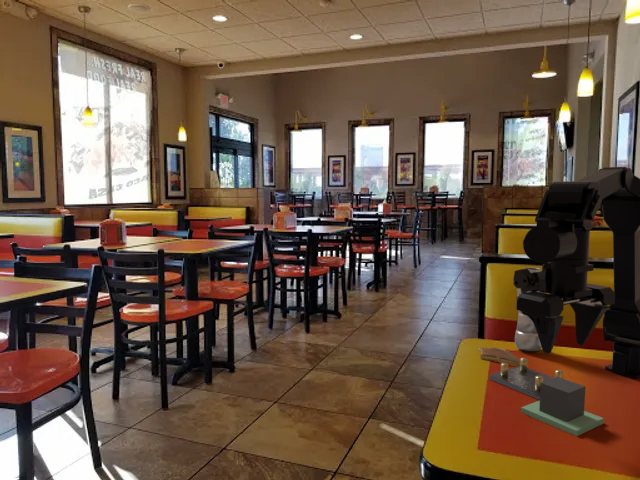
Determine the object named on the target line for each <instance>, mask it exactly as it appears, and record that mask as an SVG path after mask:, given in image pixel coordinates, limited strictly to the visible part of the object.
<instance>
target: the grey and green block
mask: <svg viewBox="0 0 640 480" xmlns="http://www.w3.org/2000/svg"><path fill="white" fill-rule="evenodd" d="M586 389H587V388H586V386H585V385H583V384H580V383H576V382H574V381H571V380H567V379H565V378H563V379H562V378H559V377H556V378H555V377H554V378H553V379H550V380H547V381H545V382H542V383H541V387H540V400H537V401H535V402H532V403H529V404H526V405H524V406H521V407H520V413H522V414H524V415H527V416H528V417H530V418H533V419H535V420H537V421H540V422H542V423H545V424H547V425H550V426H552V427H553V428H556V429H558V430H561V431H563V432H565V433H568V434H570V435H572V436H575V437H579V436H580V435H581V436H582V434H584V433H586V432H589V431H591V430H592V429H594V428H597V427H600V426H601V425H604V421H605V420H604V418H603V417H601V416H599V415H596V414H593V413H591V412H589V411H586V410H585V403H586V402H585V401H586Z"/></svg>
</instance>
